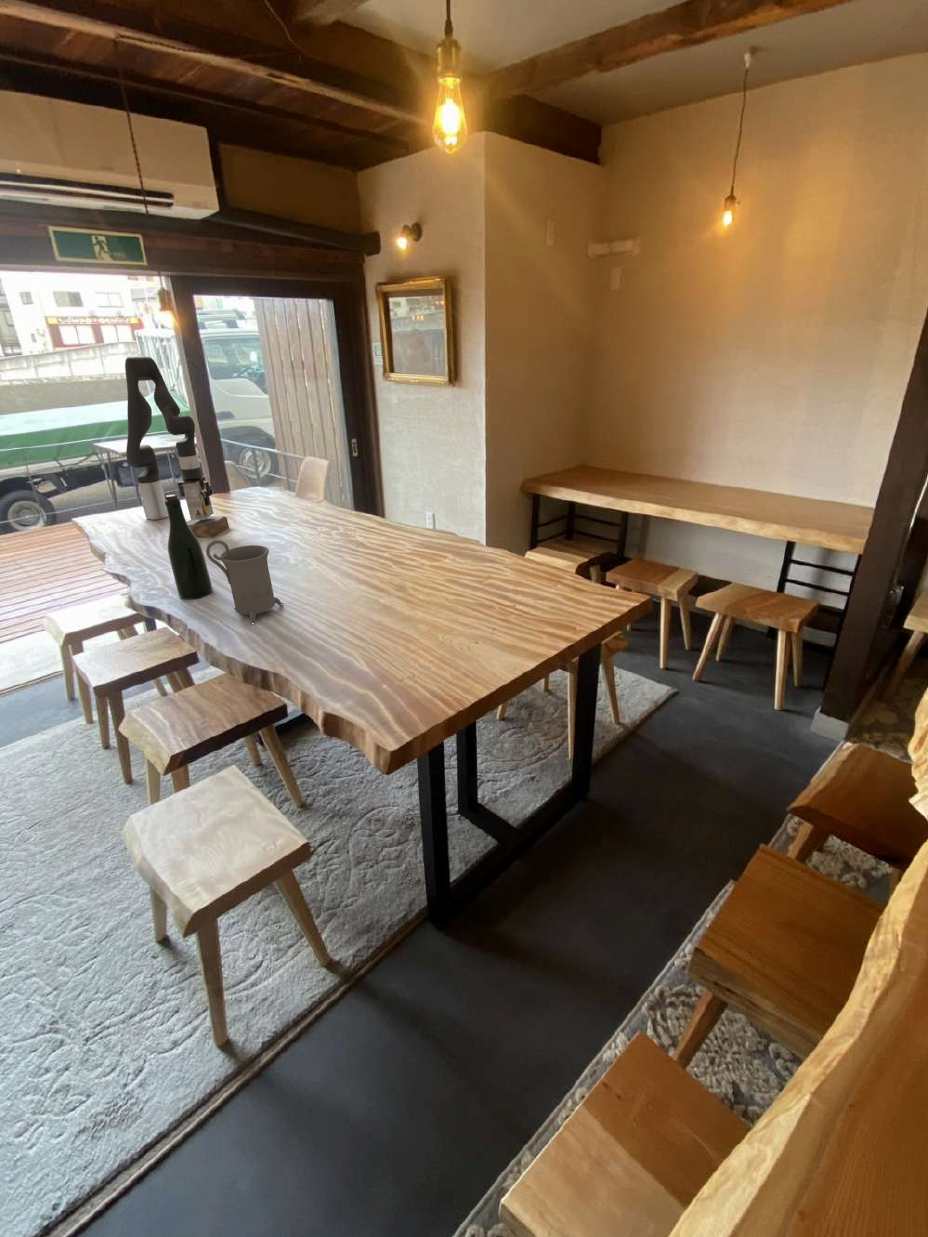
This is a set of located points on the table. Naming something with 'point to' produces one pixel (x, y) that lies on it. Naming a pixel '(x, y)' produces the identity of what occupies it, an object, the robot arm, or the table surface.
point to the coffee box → (196, 500)
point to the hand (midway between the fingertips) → (199, 505)
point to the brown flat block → (208, 526)
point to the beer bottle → (185, 554)
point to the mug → (247, 577)
